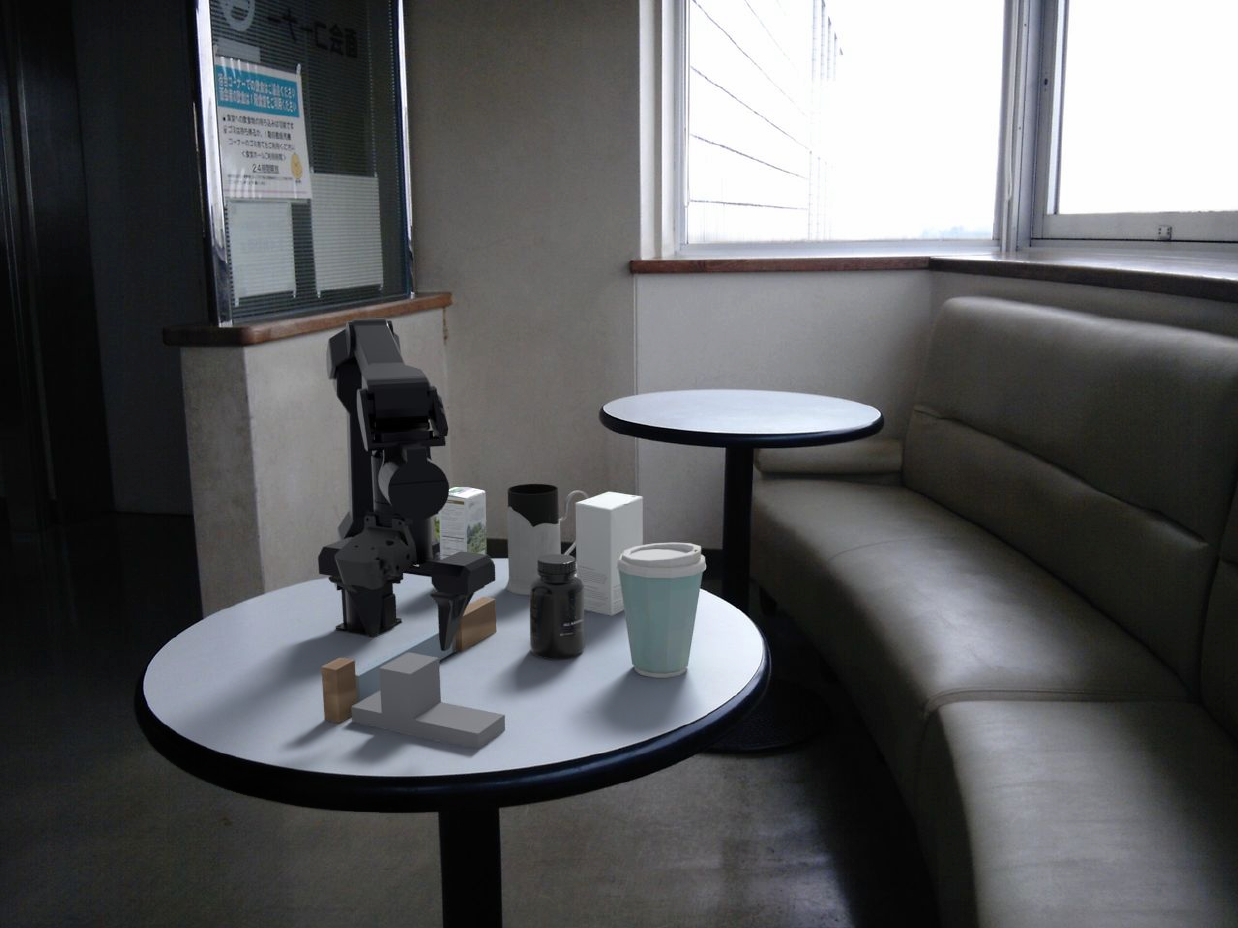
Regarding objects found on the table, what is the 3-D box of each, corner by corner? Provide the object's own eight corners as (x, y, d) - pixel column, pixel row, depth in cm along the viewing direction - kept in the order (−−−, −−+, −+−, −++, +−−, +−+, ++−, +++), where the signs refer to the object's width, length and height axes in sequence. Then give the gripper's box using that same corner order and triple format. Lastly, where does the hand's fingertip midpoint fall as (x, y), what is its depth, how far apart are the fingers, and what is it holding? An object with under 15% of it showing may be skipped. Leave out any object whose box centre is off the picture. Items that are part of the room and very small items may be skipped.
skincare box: (609, 594, 158) (608, 490, 155) (646, 602, 154) (646, 495, 151) (574, 609, 151) (572, 501, 148) (612, 617, 147) (611, 507, 144)
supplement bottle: (577, 662, 131) (576, 567, 129) (523, 658, 132) (521, 564, 130) (590, 642, 138) (589, 552, 135) (539, 639, 139) (536, 550, 137)
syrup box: (455, 577, 167) (452, 485, 164) (488, 581, 164) (485, 488, 162) (435, 587, 162) (431, 493, 159) (469, 591, 159) (466, 496, 157)
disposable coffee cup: (603, 679, 126) (602, 555, 123) (634, 648, 136) (633, 532, 133) (691, 690, 122) (691, 563, 119) (715, 657, 132) (716, 539, 129)
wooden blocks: (324, 719, 115) (321, 666, 114) (483, 629, 143) (482, 586, 142) (339, 723, 114) (336, 669, 113) (496, 631, 142) (495, 587, 141)
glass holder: (495, 584, 163) (492, 487, 160) (576, 568, 171) (574, 476, 168) (523, 598, 156) (520, 497, 153) (605, 582, 164) (604, 485, 161)
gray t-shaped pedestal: (352, 724, 115) (348, 662, 113) (381, 706, 119) (378, 646, 118) (478, 752, 108) (476, 686, 107) (505, 732, 112) (503, 669, 111)
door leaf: (351, 704, 118) (349, 670, 118) (450, 648, 135) (448, 618, 135) (360, 706, 118) (358, 671, 117) (458, 649, 135) (456, 619, 134)
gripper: (275, 506, 107) (286, 655, 110) (431, 525, 99) (438, 685, 102) (348, 485, 116) (356, 622, 119) (496, 500, 109) (500, 646, 112)
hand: (408, 643), depth 113 cm, fingers open, 9 cm apart
